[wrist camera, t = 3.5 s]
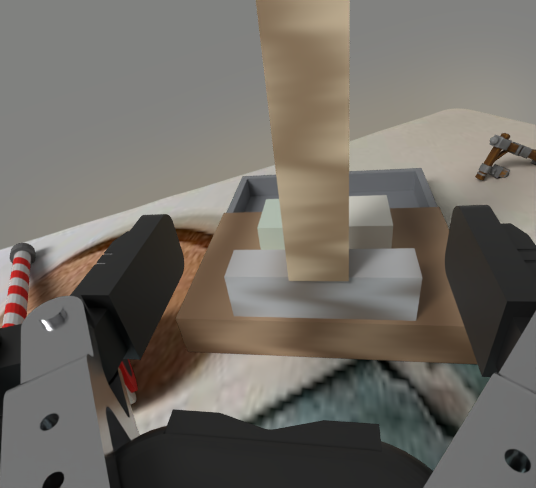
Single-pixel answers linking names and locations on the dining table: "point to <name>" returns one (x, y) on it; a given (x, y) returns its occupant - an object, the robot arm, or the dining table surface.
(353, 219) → the tile
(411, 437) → the dining table surface
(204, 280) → the board
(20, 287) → the toy hammer
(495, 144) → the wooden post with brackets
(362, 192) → the tray
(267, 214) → the tile
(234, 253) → the scraper
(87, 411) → the robot arm
